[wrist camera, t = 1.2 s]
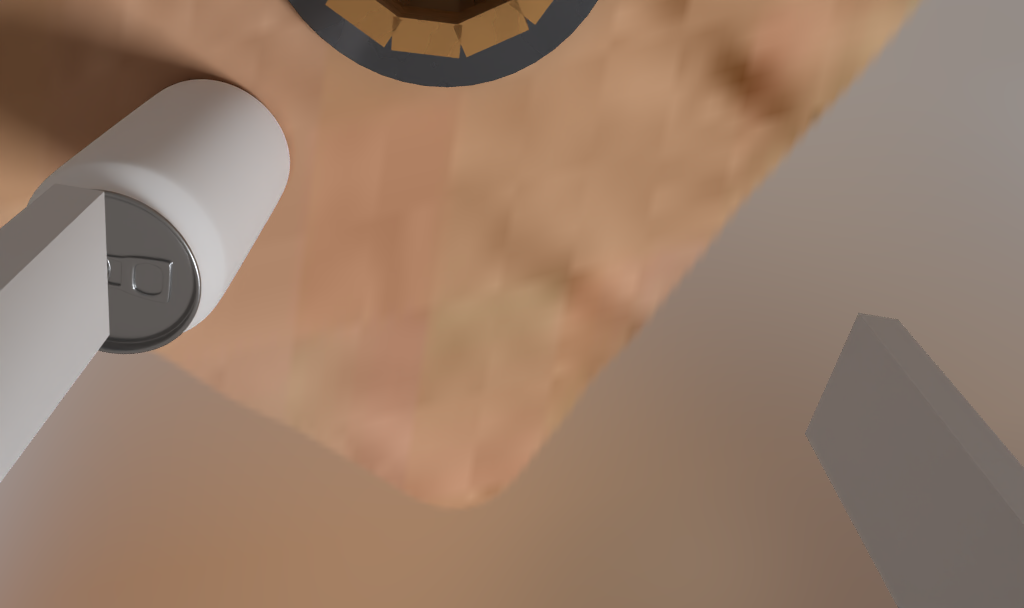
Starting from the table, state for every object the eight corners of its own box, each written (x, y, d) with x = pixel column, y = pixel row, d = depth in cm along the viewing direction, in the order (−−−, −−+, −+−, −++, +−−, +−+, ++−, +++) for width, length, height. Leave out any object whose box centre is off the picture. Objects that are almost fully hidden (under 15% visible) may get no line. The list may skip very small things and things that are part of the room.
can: (141, 59, 35) (-9, 153, 24) (301, 96, 36) (223, 202, 25) (135, 204, 38) (-1, 344, 27) (283, 234, 39) (206, 382, 28)
